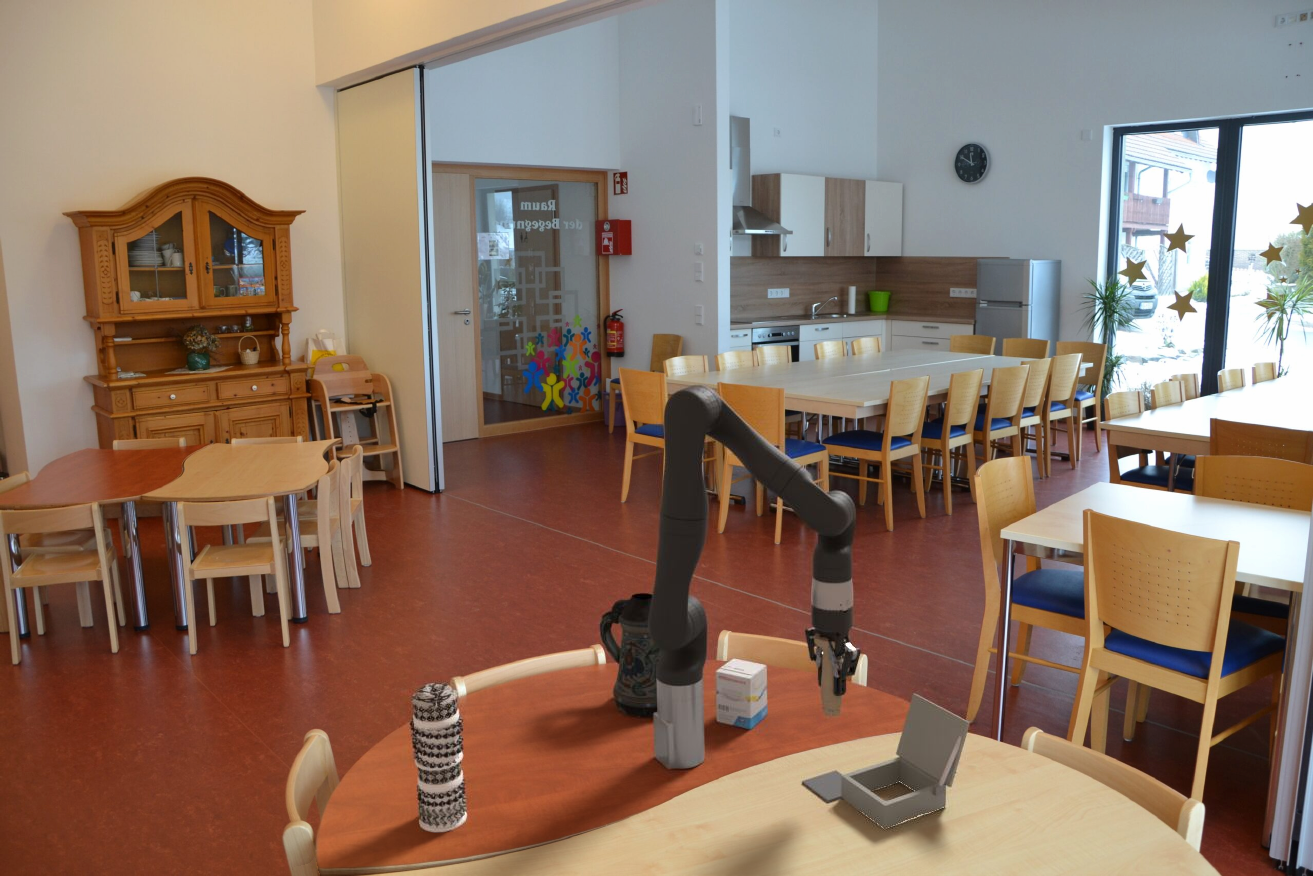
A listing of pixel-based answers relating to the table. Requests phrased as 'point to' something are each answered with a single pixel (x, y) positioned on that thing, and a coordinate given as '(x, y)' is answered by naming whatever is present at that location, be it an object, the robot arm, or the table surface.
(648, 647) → the beer stein
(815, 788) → the mat
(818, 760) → the table surface
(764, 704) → the ink box
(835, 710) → the handle
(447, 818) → the decorative candle
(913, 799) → the case
